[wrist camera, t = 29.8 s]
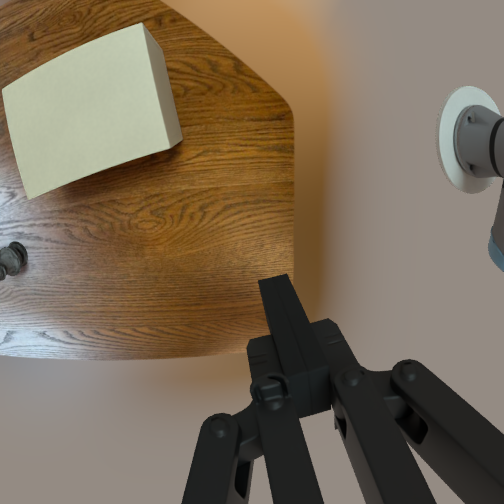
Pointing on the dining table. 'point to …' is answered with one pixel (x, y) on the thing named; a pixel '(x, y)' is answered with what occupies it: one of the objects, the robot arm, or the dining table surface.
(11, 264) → the chess piece
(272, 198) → the dining table surface
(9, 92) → the box lid
